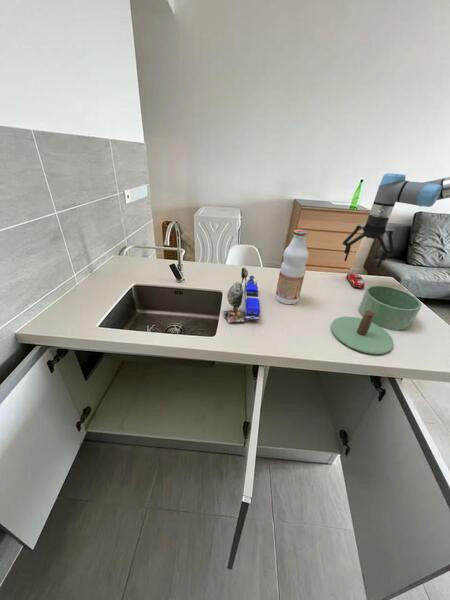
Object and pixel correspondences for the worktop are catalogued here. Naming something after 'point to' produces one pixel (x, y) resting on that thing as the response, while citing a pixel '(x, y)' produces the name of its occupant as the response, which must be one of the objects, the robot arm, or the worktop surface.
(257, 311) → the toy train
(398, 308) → the tin
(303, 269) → the fruit juice
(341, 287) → the worktop surface
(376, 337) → the tin lid
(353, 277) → the race car
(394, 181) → the robot arm
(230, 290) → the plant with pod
